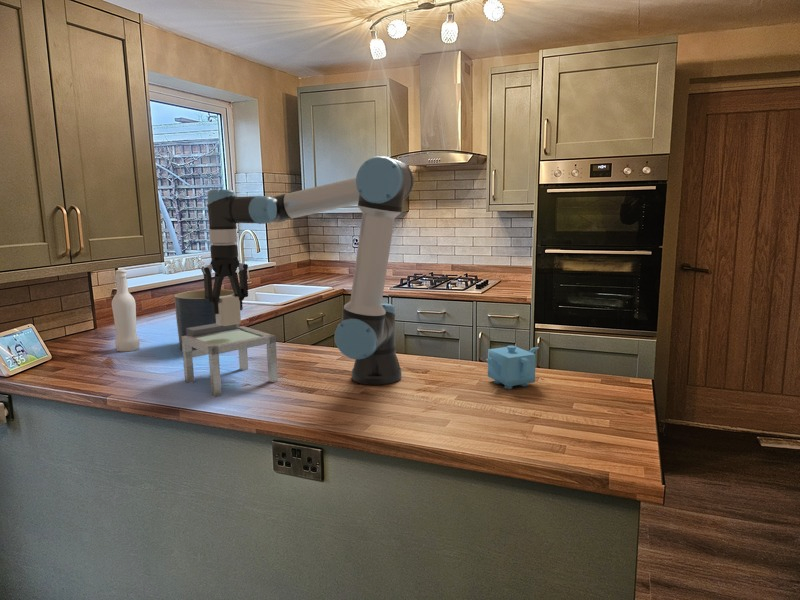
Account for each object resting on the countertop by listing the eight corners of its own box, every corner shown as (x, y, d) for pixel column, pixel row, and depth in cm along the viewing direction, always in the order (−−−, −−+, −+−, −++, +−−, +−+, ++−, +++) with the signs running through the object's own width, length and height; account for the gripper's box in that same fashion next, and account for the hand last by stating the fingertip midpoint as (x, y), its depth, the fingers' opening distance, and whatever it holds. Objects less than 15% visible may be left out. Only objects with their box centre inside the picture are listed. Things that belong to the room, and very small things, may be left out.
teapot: (472, 380, 166) (472, 343, 164) (522, 372, 173) (523, 337, 171) (502, 396, 151) (503, 356, 149) (555, 387, 158) (557, 349, 156)
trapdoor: (263, 346, 166) (262, 330, 165) (215, 356, 156) (214, 339, 155) (231, 336, 181) (230, 321, 180) (185, 344, 170) (184, 328, 170)
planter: (238, 337, 225) (235, 288, 222) (241, 350, 204) (237, 296, 201) (180, 341, 218) (176, 291, 215) (176, 355, 198) (172, 300, 194)
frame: (277, 381, 167) (275, 335, 165) (214, 397, 154) (211, 348, 151) (245, 367, 182) (242, 325, 179) (185, 381, 168) (181, 336, 166)
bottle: (110, 351, 205) (102, 270, 200) (128, 346, 212) (121, 268, 207) (127, 353, 202) (119, 271, 197) (144, 347, 209) (137, 268, 204)
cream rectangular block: (232, 321, 167) (230, 295, 166) (240, 323, 164) (238, 296, 163) (216, 323, 164) (214, 297, 163) (224, 326, 161) (222, 299, 159)
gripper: (246, 241, 169) (250, 316, 173) (187, 245, 157) (193, 325, 160) (258, 242, 163) (262, 320, 167) (199, 246, 151) (204, 329, 155)
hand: (228, 322), depth 164 cm, fingers closed on cream rectangular block, 5 cm apart
